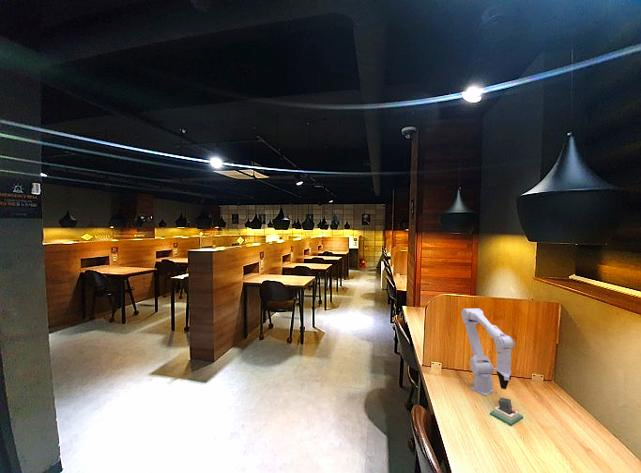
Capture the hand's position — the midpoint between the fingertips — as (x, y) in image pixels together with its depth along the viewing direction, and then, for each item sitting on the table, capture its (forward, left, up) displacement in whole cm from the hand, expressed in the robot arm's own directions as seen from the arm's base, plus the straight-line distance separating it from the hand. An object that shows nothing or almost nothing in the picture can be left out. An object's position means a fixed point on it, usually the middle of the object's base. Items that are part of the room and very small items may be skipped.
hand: (503, 388), depth 135 cm
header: (+6, +4, -9) cm, 12 cm away
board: (+6, +4, -9) cm, 12 cm away
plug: (+6, +5, -8) cm, 11 cm away
